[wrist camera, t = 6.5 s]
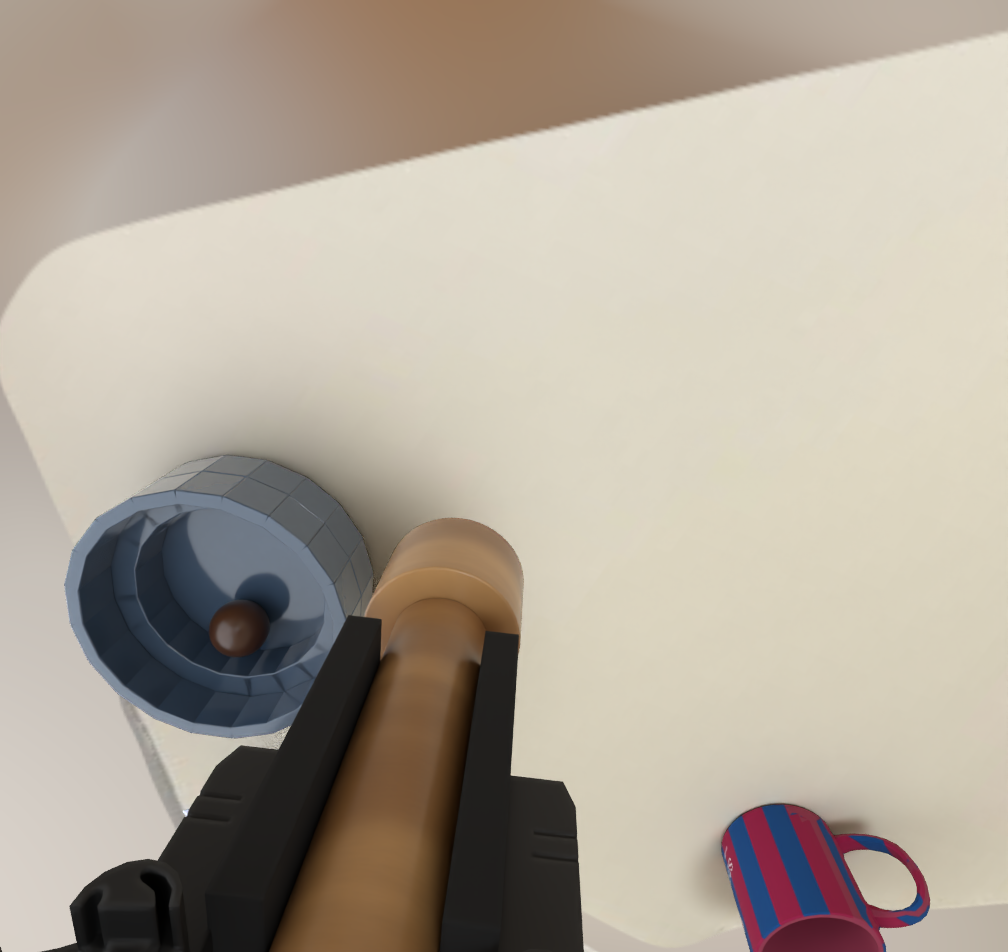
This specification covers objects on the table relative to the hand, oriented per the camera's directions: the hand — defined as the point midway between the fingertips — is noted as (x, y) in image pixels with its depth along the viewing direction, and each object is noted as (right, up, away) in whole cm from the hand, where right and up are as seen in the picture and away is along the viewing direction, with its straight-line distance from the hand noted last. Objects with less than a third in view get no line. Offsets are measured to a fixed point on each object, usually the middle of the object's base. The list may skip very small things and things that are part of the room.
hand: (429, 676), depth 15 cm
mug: (+20, -18, +25) cm, 37 cm away
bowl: (-12, 0, +21) cm, 24 cm away
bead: (-12, -3, +20) cm, 23 cm away
